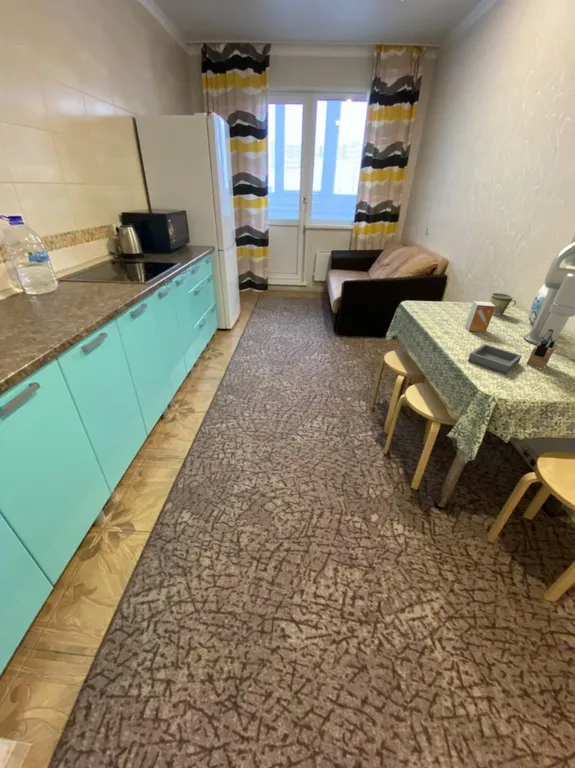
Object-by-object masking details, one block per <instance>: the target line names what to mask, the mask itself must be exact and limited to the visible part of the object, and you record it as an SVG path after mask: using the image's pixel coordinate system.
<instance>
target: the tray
mask: <svg viewBox="0 0 575 768" xmlns="http://www.w3.org/2000/svg"><path fill="white" fill-rule="evenodd" d="M521 359H522V355H521V354H518V353H514V352H512V351H509V350H504V349H501V348H499V347H495V346H493V345H489V344H486V343H483V344H482V345H481V346H479V347H477V348H476V349H474V350H473V351H472V352H470V353H469V357H468V359H467V362H469V363H471V362H472V363H471V364H474V365H477V366H480V367H483V368H486V369H489V370H492V371H494V372H496V373H500V374H503V375H505V376H506V375H507V374H509V373H510V372H511V371H512V370H514V368H515V367H516V366H517V365H519V362H520V361H521Z"/></svg>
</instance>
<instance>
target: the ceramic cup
mask: <svg viewBox="0 0 575 768" xmlns="http://www.w3.org/2000/svg"><path fill="white" fill-rule="evenodd" d="M513 298H514V297H513V296H512V295H510V294H506V293H500V292H494V293H491V297H490V302H491V303H492V304H493V305H495V306H496V307H495V310H494V312H493V315H492V316H498V317H499V316H503V315H504V314H505V312H506V310H507V309H509V308H512V307H514V306H515V305H516V304H517V302H516V300H514V299H513ZM511 302H514V304H512V305H510V304H511ZM509 305H510V306H509Z"/></svg>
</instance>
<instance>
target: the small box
mask: <svg viewBox="0 0 575 768" xmlns="http://www.w3.org/2000/svg"><path fill="white" fill-rule="evenodd" d="M495 307H496V306H495V305H493V304H492V303H491V301H475V300H473V301H472V304H471V306H470V310H469V313H468V317H467V319H466V321H465V325H464V327H465V328H466V329H468V330H467V331H468V332H479V333H486V332H487V330H488V328H489V326H490V322H491V319H492V317H493V316H494V315H493V312H494V310H495Z"/></svg>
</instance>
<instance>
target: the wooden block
mask: <svg viewBox="0 0 575 768" xmlns="http://www.w3.org/2000/svg"><path fill="white" fill-rule="evenodd" d="M538 345H539V344H538ZM538 345H535V346H534V348H533V349H532V350H531V354H530V355H529V357H528V360H527V361H526V365H527V366H531V365H532V366H531V367H534V366H535V367H534V368H537V367H538V369H540V368H541V370H543V369H544V368H545V367H546V366H547V365H548V363H549V361H550V360H551V356H552V354H553V353H554V351H555V348H553V347H552V348H549V347H548V350H547V352H546V354H545V356H544V357H539V356H536V355H534V353H535V351H536V349H537V347H538Z"/></svg>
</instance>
